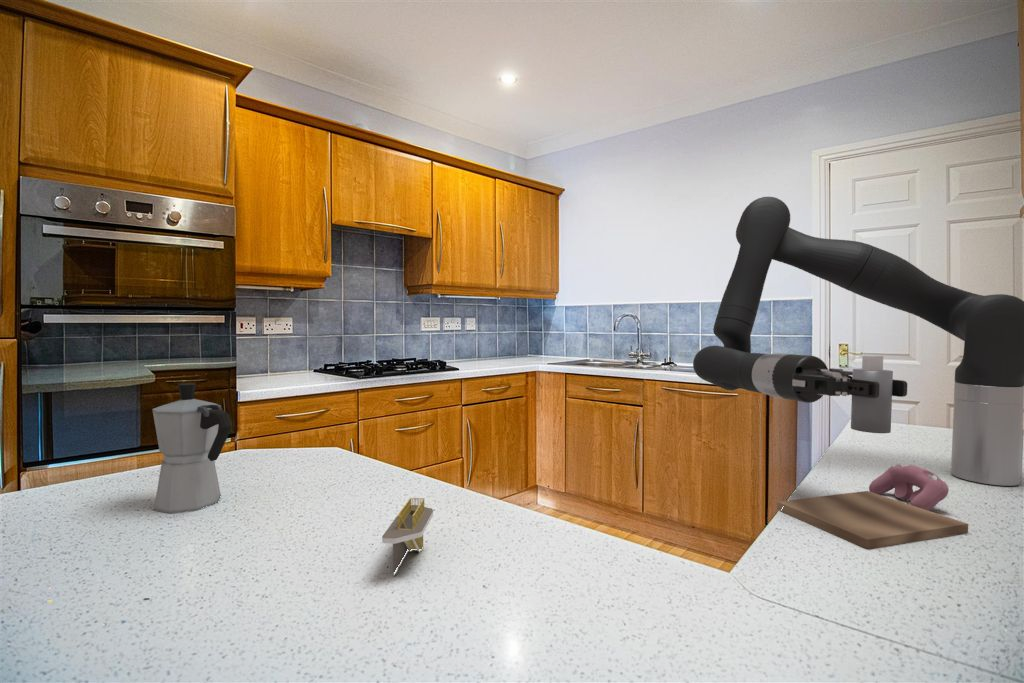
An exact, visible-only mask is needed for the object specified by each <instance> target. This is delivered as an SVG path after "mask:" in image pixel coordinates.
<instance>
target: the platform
mask: <svg viewBox="0 0 1024 683" xmlns="http://www.w3.org/2000/svg"><path fill="white" fill-rule="evenodd" d="M433 516H434V509H433V508H431V507H427V506H425V498H423V497H421V498H419V497H409V499H408V500H407V502H406V503H405V505H403V506H402V508H401V510H400V511H399V512H398V514H397V515H396V516H395V518H394V520H393V521H391V524H390V525H389V526H388V528H387V529H386V531H385V532H384V534H383V535H382V537H381V538H382V539H381V540H382V541H381V542H382V544H392V573H393V572H395V570H396V568H397V567H398V565H399V564H400V562H401V560H402V558H403V557H404V555H405V553H406V551H407V549H408V550H409V552H410V550H411V549H417V551H416V552H418V551H419V549H422V547H423V548H424V533H425V531H426V529H427V527H428V525H429V524H430V522H431V520H432V518H433Z"/></svg>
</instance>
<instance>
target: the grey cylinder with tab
mask: <svg viewBox="0 0 1024 683" xmlns="http://www.w3.org/2000/svg"><path fill="white" fill-rule="evenodd" d="M861 361H862V362H861V368H853V369H852V371H853V375H851V376H852V379H858V380H867V381H876V382H878V383H879V397H877V398H868V397H862V396H855V395H851V405H850V406H851V408H850V409H851V411H850V429H852V430H853V431H857V432H858V431H859V432H862V433H869V434H890V433H891V432H892V431H891V429H892V407H893V404H892V403H893V402H892V401H893V396H892V383H893V380H894V371H893V370H888V369H884V356H883V355H862V360H861Z"/></svg>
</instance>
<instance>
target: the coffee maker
mask: <svg viewBox="0 0 1024 683" xmlns="http://www.w3.org/2000/svg"><path fill="white" fill-rule="evenodd" d="M177 387H178V390H179V396H180V399H178V400H176V401H173V402H172V401H171V402H169V403H166V404H163V405H160V406H157V407H155V408H152V409H151V410H152V415H153V422H154V426H155V432H156V438H157V444H158V450H159V452H160V453H161V454H163V460H162V462H161V464H160V471H159V476H158V482H157V489H156V495H155V499H154V500H155V501H154V505H153V506H154V507H153V511H156V512H161V513H165V514H169V515H170V514H179V513H178V512H180V513H186V511H188V512H195V511H194V510H197V511H199V510H198V509H200V510H202V509H201V508H203V507H206V506H208V507H210V506H209V505H211V506H213V505H212V504H214V503H217V504H219V502H220V500H219V499H221V497H222V494H221V489H220V483H219V478H218V474H217V468H216V462H215V461H217V459H218V458H219V456H220V454H221V452H222V450H223V448H224V446H225V443H226V441H227V439H228V437H229V435H230V432H231V430H232V428H233V423H232V421H231V418H230V415H229V413H228V412H227V411H226V410H223V408H222V406H221V405H220V404H217V403H214V402H210V401H206V400H201V399H197V398H195V393H196V387H197V383H193V382H191V383H189V382H186V383H177ZM220 496H221V497H220ZM218 501H219V502H218ZM214 505H215V504H214ZM206 508H207V507H206ZM203 509H204V508H203Z"/></svg>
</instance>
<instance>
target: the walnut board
mask: <svg viewBox="0 0 1024 683" xmlns="http://www.w3.org/2000/svg"><path fill="white" fill-rule="evenodd" d="M788 500H789V501H788ZM776 502H777V505H776V510H778V511H780V510H781V509H782V507H783V506H784V507H783V509H782V511H780V512H782V513H785V514H786V515H789V516H792V517H793V518H795V519H798V520H800V521H802V522H805V523H806V524H809V525H811V526H813V527H816V528H818V529H821V530H823V531H825V532H828V533H829V534H832V535H834V536H836V537H839V538H840V539H843V540H846V541H848V542H850V543H852V544H854V545H857V546H859V547H861V548H864V549H866V550H870V549H876V548H877V549H878V548H883V547H889V546H895V545H900V544H907V543H914V542H920V541H926V540H931V539H932V540H933V539H938V538H945V537H949V536H955V535H962V534H963V535H964V534H969V523H967V522H964V521H961V520H958V519H956V518H952V517H948V516H946V515H942V514H939V513H936V512H933V511H931V510H929V511H928V510H924V509H921V508H918V507H915V506H912V505H910V503H906V502H904V501H900V500H896V499H894V498H890V497H888V496H885V495H882V494H876V493H872V492H870V491H869V490H865V491H855V492H847V493H838V494H831V495H823V496H822V495H820V496H814V497H813V496H811V497H805V498H796V499H787V500H780V501H779V500H778V501H776Z"/></svg>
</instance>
